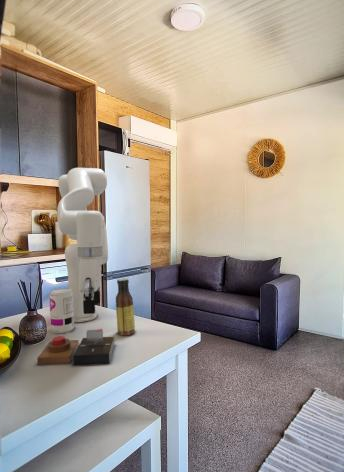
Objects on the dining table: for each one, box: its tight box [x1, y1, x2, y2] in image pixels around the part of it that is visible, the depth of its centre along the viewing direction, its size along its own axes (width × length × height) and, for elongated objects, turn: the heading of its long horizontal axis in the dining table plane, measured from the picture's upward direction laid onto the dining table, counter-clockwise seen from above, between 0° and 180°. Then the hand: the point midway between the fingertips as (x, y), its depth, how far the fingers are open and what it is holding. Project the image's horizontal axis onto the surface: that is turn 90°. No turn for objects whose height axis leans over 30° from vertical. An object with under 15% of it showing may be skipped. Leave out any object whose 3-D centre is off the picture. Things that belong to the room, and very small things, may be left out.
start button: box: [52, 335, 66, 345], centre depth 94 cm, size 4×4×2 cm
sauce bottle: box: [115, 277, 136, 336], centre depth 111 cm, size 7×6×20 cm
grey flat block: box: [86, 328, 104, 346], centre depth 93 cm, size 5×2×5 cm, turn 94°
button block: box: [36, 338, 80, 366], centre depth 94 cm, size 12×9×4 cm
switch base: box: [73, 336, 115, 366], centre depth 94 cm, size 13×10×3 cm
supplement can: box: [48, 288, 75, 334], centre depth 115 cm, size 8×8×15 cm
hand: (92, 308), depth 93 cm, fingers open, 9 cm apart
